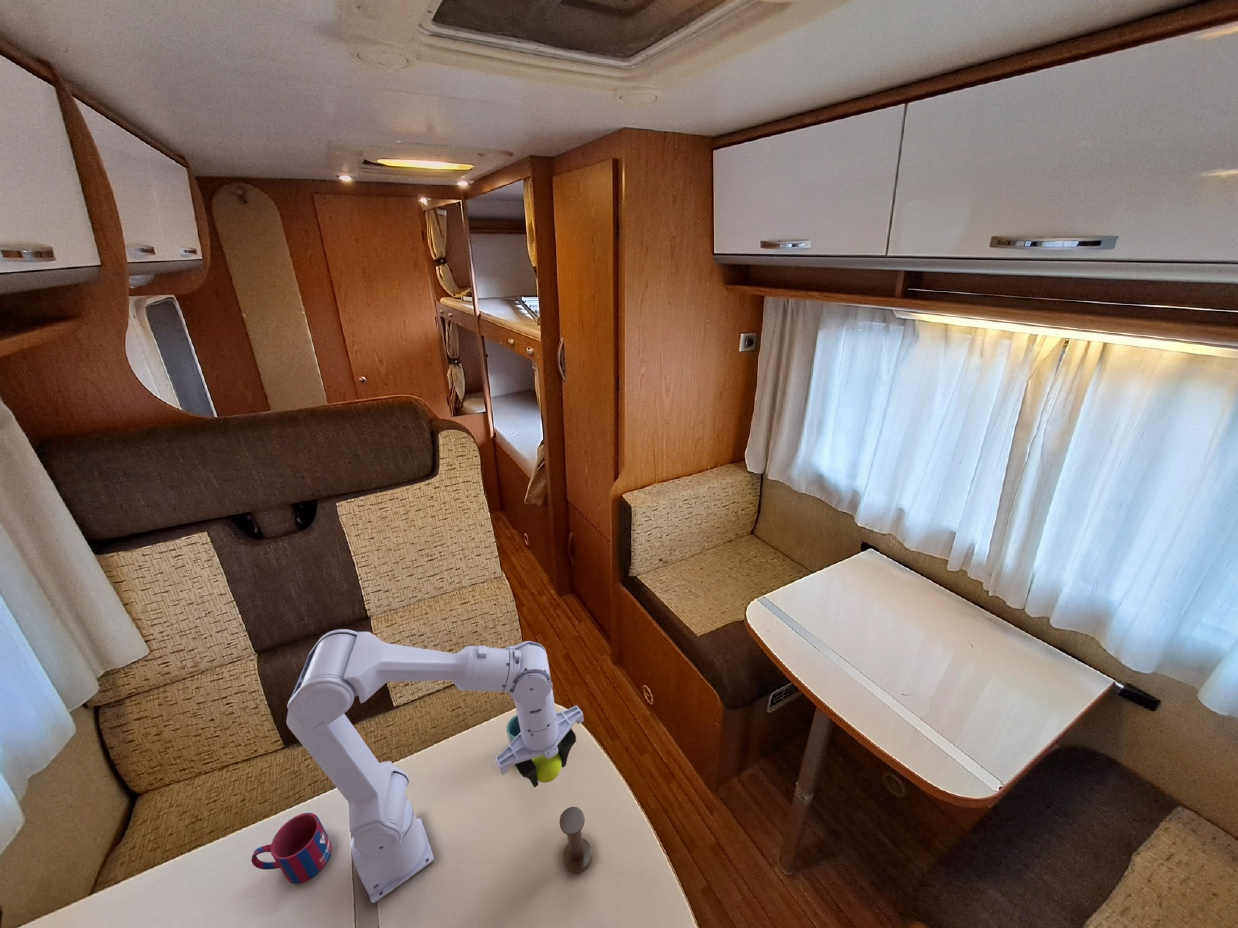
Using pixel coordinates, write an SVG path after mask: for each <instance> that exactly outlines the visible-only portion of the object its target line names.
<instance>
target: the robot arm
mask: <svg viewBox="0 0 1238 928" xmlns="http://www.w3.org/2000/svg"><path fill="white" fill-rule="evenodd" d="M550 671H551V670H550V665H549V659H548V654H547V651H546V648H545V647H544V646H543V644H541V643H538V642H535V641H531V640H527V641H523V642H519V643H517V644H515V645H509V646H506V648H502V647H489V646H487V645H478V646H476V645H467V646H465V647H463V648H462V649H460V650H459V651H458V652H448V651H441V650H436V649H429V648H422V647H415V646H409V645H402V644H395V643H388V642H385V641H383V640H382V639H380V638H379V637H377V636H376V635H374V634H373V633H372V632H370V631H356V630H352V629H343V628H341V629H340V628H339V629H334V630H331V631H328V632H326V633H325V634H324V635H322V636H321V637H320V638H319V640H318V641H317V642H316V643H315V645H314V646H313V647H312V648H311V650H310V651H309V653H308V655H307V657H306V660H305V662H304V665H303V668H302V671H301V673H300V675H299V677H298V679H297V682H296V684H295V686H294V689H293V692H292V693H291V696H290V698H289V700H288V701H287V702H288V703H287V705H286V707H287V709H288V710H287V715H286V722H285V723H286V725H287V728H288V729H289V730H290V731H291V733H292V734H293V735H294V736H295V738H296V740H298V741H299V742H300V744H301V745H302V746H303V748H304V749H305V750H306V752H307V753H308V754H309V755H310V757H311V758H312V759H313V760H314V761H315V763H316V764H317V765H318V766H319V767H320V769H321V770H322V772H324V774H325V775H326V776H327V777H328V779H329V780H330V781H331V782H332V784H333V785H334V786H335V788H337V790H338V791H339V792H340V794H341V795H342V796H343V798H344V799H345V800H346V801H347V805H348V826H349V833H350V834H352V836H353V837H352V838H350V839H349V846H350V852H351V856H352V860H353V863H354V867H355V869H356V872H357V875H358V877H359V879H360V880H361V883H362V885H363V887H364V889H365V890H366V893H367V894H368V897H369V900H370V903H371V904H376V903H377V902H378V901H380V900H381V899H382V898H384V897H385V896H386V895H388V894H390V893H391V892H392V891H394V890H395V889H397V888H398V887H399V886H400V885H402V884H403V883H405V882H406V881H408V880H409V879H410V878H411V877H414V876H415V875H416V874H417V873H419V872H420V871H422V870H423V869H424V868H425V867H427V866H429V865H430V864H431V863H433V862H434V859H435V857H434V854H433V851H432V847H431V844H430V842H429V839H428V836H427V833H426V830H425V827H424V824H423V821H422V819H421V817H417V815H416V812H415V810H414V807H413V805H412V803H411V801H410V800H409V799H408V794H407V790H408V787H409V783H410V776H409V774H408V772H406V771H405V770H403V769H401V768H400V767H396V765H394V763H393V762H392V761H391V760H388V761H387V760H386V761H382V762H379V760H378V759H377V757H376V756H375V754H373V752H372V750H371V749H370V747H369V746H368V745H367V744H366V742H365V740H364V739H363V738H362V736H361V735H360V733H359V731H358V730H357V729H356V727H355V726H354V725H353V723H352V722H351V721H350V719H349V717H348V716H347V715H346V712H348V711H349V710H350V709H351V707H352V705H354V701H355V697H358V698H359V699H358V700H359V703H360V704H363V703H365V702H366V701H368V699H370V698H371V697H372V696H373V695H374V694H375V693H376V692H377V691H379V690H380V689H381V688H382V687H383V686H384V685H386V684H387V683H389V682H391V683H392V682H394V683H395V682H433V681H434V682H435V681H437V682H439V681H451V683H453V684H454V686H455V687H456V688H457V689H458V690H459V691H467V692H488V693H507V694H509V696H510V698H511V699H512V700H513V701H514V705H515V710H516V715H517V716H518V721H519V726H520V731H521V732H520V733H519V734H518V735H517V737H516V738H515V739H514V740H513V741H512V742H511V743H510V744H508V745H507V747H506V748H504V749H503V751H502V752H501V753H499V754H498V755H496V756H495V757H494V760H495V763H496V767H497V769H498V770H499V772H500V775H501V776H504V775H505V774H507V773H508V772H509V767H511V766H513V765H514V766H515V767H516V769H517V771H518V772H519V774H520V776H522V778H526V779H527V780H529V781H530V783H531V785H532V786H533V788H537V787H538V786H539V781H538V780H537V777H536V769H537V767H536V766H535V764H534V762H533V761H532V759H533V758H536V757H539V756H545V757H546V758H547V759H550V758H552V757H553V756H555V755H556V754H557V753H559V754H560V756H561V760H562V766H561V769H563V768H564V767H567V761H568V758H569V754H570V752H571V750H572V748H573V746H574V745H575V744H576V743H577V735H576V733H575V732H574V730H573V727H574V726H575V724H577V725H580V724H582V723H583V722H585V719H584V713H583V711H582V710H581V709H580V707H579V706H578V705H577V704H576V705H574V706H572V707H570V708H568V709H565V710H562V711H558V712H557V710H556V704H555V697H554V690H553V682H552V678H551V672H550Z"/></svg>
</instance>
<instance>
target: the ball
mask: <svg viewBox="0 0 1238 928" xmlns="http://www.w3.org/2000/svg"><path fill="white" fill-rule="evenodd" d="M532 761H533V762H534V764H535V766H536V767H537V769H536V777H537V780H538V782H540V783H544V784H545V783H550V782H553V781H554V780H555V779H556V778H557V777H558V776H559V775H560V772H561V770H562V760H561V756H560V754H559V753H557V754H556V755H555V756H553V757H552V758H550V759H547V758H546V757H545V756H539V757H536V758H533V759H532Z"/></svg>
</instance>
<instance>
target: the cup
mask: <svg viewBox="0 0 1238 928" xmlns="http://www.w3.org/2000/svg"><path fill="white" fill-rule="evenodd" d="M271 841H272V842H271V843H270V844H265V845H261V846H260V847H257V848H256V849H255V850H254V851H253V852H252V855H251V860H250V861H251V864H252V865H253V866H254V867H255V868H257V869H259V870H264V871H265V870H278V869H280V870H281V873H283V876H284V877H285V879H286V881H288V882H289V883H290V884H294V885H297V884H298V885H299V884H300V885H301V884H303V883H306V882H308V881H310V880H312V879H313V878H314V877H316V876H317V875H318V874H319V873H320V872H321V871H322V870H323V869H324V868H325V866H326V865H327V864H328V862H329V860H330V858H331V856H332V852H333V843H332V841H331V839H330V837H329V835H328V833H327V831H326V829H325V828H324V826H323V823H322V822H321V820H320V818H319V817H318V816H317V815H316V813H313V812H304V813H300V814H298V815H296V816H294V817H292V818H290V819H289V820H288V821H286V822H285V823H284V824H283V825H282V826H281V827H280V828H279V829H278V830H277V832H276V833H275V835H274V837H273V838H272V840H271ZM265 853H270V854H271V856H272V858H273V859H274V861H263V860H260V859H259V857H258V855H260V854H265Z"/></svg>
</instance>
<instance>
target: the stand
mask: <svg viewBox="0 0 1238 928" xmlns="http://www.w3.org/2000/svg"><path fill="white" fill-rule="evenodd" d="M558 823H559V828H560V830H561V832H562V833H563V834H564V835H566V838H567V843H566V845H565V846H564V849H563V852H562V860H563V864H564V867H565V868H566V869H567V870H568V872H570V873H573V874H580V873H583V872H584V871H586V870H587V869H588V867H589V866H590V865H591V862H592V859H593V849H592V847H591V844H590V842H588V840H586V839H585V838H583V835H582V829H583V828H584V826H585V814H584V812H583V810H582V809H580V808H579V807H576V806H570V807H567V808H566V809H564V810H563V811H562V813H561V814H560V817H559V821H558Z"/></svg>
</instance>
